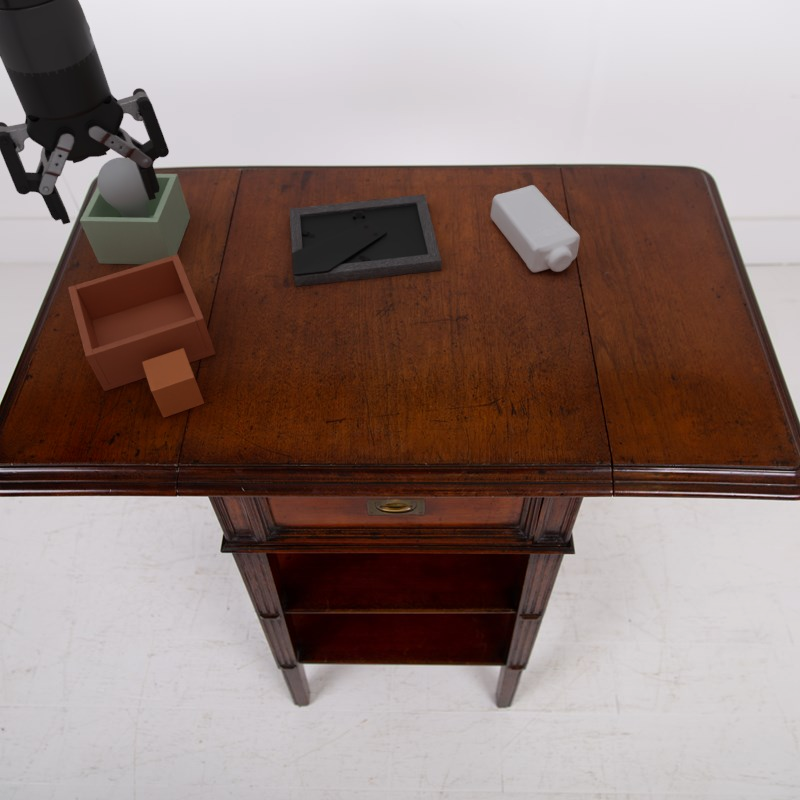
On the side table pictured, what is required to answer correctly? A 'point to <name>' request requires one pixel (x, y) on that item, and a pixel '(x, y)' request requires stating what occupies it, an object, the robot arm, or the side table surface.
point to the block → (172, 382)
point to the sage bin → (138, 226)
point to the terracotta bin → (138, 320)
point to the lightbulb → (123, 188)
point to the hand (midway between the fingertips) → (109, 207)
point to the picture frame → (363, 240)
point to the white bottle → (535, 229)
